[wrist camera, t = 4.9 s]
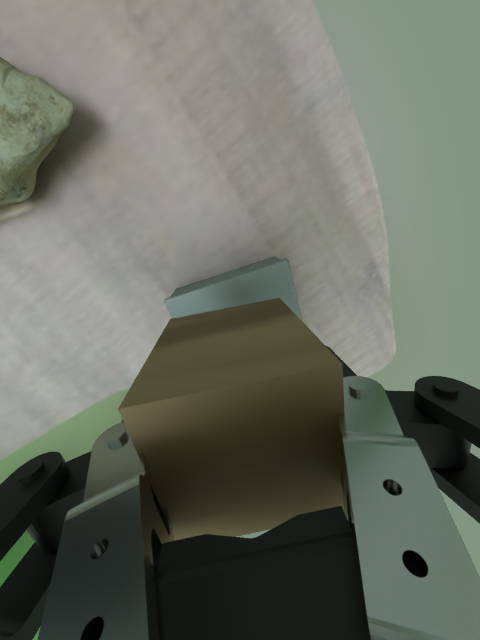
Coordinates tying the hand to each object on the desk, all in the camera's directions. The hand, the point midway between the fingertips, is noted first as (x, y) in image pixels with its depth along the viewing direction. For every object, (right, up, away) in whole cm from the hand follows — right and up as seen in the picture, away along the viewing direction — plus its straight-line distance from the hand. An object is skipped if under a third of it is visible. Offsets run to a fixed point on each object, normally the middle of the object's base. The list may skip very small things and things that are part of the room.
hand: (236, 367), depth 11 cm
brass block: (0, 0, +1) cm, 1 cm away
